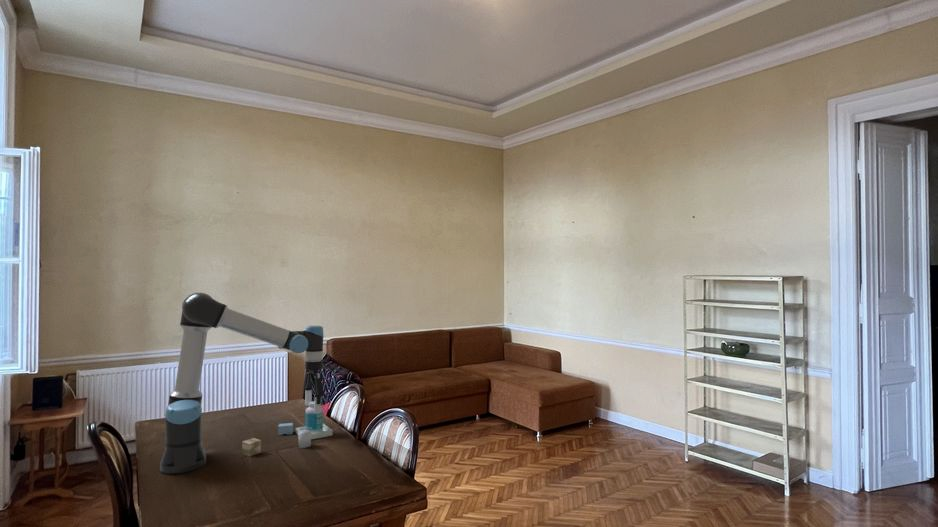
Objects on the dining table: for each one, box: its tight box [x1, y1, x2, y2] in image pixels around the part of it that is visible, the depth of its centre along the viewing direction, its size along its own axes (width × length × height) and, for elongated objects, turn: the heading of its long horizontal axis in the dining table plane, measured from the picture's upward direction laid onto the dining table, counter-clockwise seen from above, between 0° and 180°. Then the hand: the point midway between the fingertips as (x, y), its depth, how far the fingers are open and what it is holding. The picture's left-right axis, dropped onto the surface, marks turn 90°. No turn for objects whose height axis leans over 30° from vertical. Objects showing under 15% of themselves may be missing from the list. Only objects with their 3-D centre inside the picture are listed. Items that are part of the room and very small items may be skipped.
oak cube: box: [241, 437, 262, 457], centre depth 204 cm, size 5×5×5 cm
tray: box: [295, 422, 334, 440], centre depth 228 cm, size 13×13×2 cm
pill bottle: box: [304, 400, 324, 433], centre depth 227 cm, size 8×7×14 cm
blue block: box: [277, 422, 294, 436], centre depth 229 cm, size 6×4×4 cm, turn 105°
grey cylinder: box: [297, 430, 312, 449], centre depth 212 cm, size 5×5×6 cm
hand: (312, 408), depth 227 cm, fingers open, 13 cm apart
